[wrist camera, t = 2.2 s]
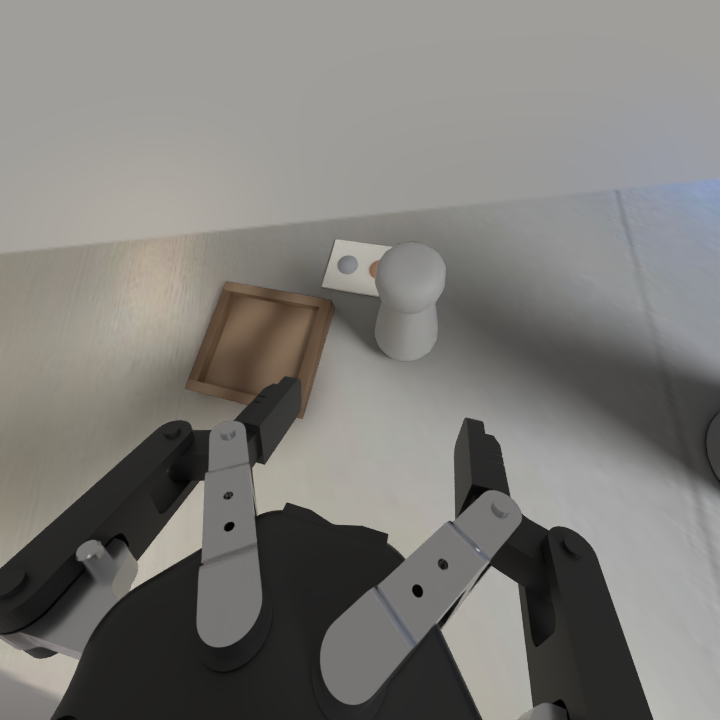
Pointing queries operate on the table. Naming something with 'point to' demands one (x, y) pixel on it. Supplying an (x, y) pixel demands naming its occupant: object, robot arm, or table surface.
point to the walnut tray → (260, 343)
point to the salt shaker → (408, 300)
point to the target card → (353, 267)
